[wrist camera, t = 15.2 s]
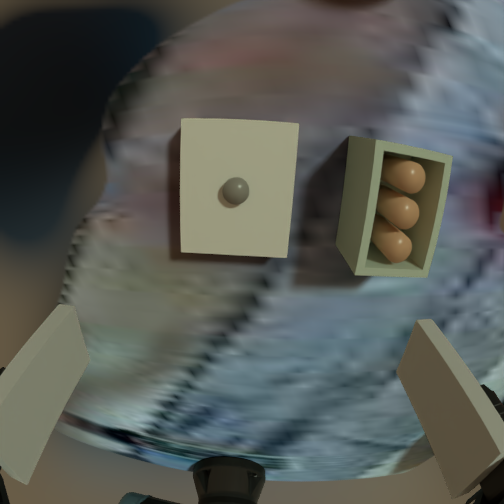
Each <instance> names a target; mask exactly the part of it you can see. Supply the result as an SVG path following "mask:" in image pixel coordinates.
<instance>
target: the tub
mask: <svg viewBox="0 0 504 504" xmlns="http://www.w3.org/2000/svg"><path fill="white" fill-rule="evenodd" d="M452 158H453V156H450V155H446V154H442V153H438V152H434V151H430V150H426V149H421V148H417V147H412V146H407V145H402V144H397V143H392V142H387V141H381V140H376V139H369V138H363V137H356V136H349V142H348V152H347V161H346V170H345V179H344V187H343V195H342V203H341V210H340V217H339V224H338V230H337V237H336V243H335V245H336V246H337V248H338V249H339V251H340V253H341V254H342V256H343V257H344V259H345V260H346V262H347V264H348V265H349V267H350V268H351V270H352V272H353V273H354V275H362V276H392V277H426V278H427V276H428V272H429V269H430V265H431V262H432V258H433V254H434V250H435V247H436V243H437V238H438V234H439V230H440V226H441V221H442V216H443V212H444V207H445V201H446V196H447V190H448V185H449V178H450V172H451V165H452Z"/></svg>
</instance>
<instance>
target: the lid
mask: <svg viewBox="0 0 504 504" xmlns="http://www.w3.org/2000/svg"><path fill="white" fill-rule="evenodd" d="M298 131H299V124H297V123H287V122H274V121H260V120H242V119H205V118H185V119H181V149H180V233H181V252H186V253H204V254H223V255H241V256H260V257H279V258H287V250H288V241H289V232H290V222H291V212H292V201H293V191H294V180H295V168H296V156H297V144H298Z"/></svg>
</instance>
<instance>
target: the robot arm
mask: <svg viewBox="0 0 504 504" xmlns="http://www.w3.org/2000/svg"><path fill="white" fill-rule="evenodd" d="M89 362H90V357H89V354H88V351H87V348H86V345H85V342H84V338H83V335H82V332H81V328H80V324H79V321H78V317H77V313H76V310H75V306H69V305H61V304H59V305H58V306H57V307H56V309H55V310H54V311H53V312H52V313H51V314H50V315H49V316H48V318H47V319H46V320H45V321H44V322H43V324H42V325H41V326H40V327H39V328H38V329H37V331H36V332H35V333H34V334H33V335H32V336H31V338H30V339H29V340H28V341H27V343H26V344H25V345H24V346H23V347H22V349H21V350H20V351H19V352H18V354H17V355H16V356H15V357H14V359H13V360H12V361H11V363H10V364H9V365H8V366H7V368H4V367H2V368H1V369H0V470H1V468H3V470H4V471H5V472H6V473H7V474H8V475H9V476H10V477H12V478H14V479H16V480H18V481H20V482H22V483H24V484H26V485H28V482H29V480H30V478H31V475H32V473H33V471H34V469H35V466H36V464H37V462H38V460H39V458H40V456H41V453H42V451H43V449H44V447H45V445H46V443H47V441H48V439H49V436H50V435H51V433H52V431H53V429H54V427H55V425H56V423H57V421H58V419H59V417H60V415H61V413H62V411H63V409H64V407H65V405H66V403H67V402H68V400H69V398H70V396H71V394H72V392H73V390H74V389H75V387H76V385H77V383H78V381H79V380H80V378H81V376H82V374H83V372H84V371H85V369H86V367H87V365H88V364H89ZM396 373H397V375H398V377H399V379H400V381H401V383H402V385H403V387H404V389H405V391H406V393H407V395H408V397H409V399H410V401H411V403H412V406H413V408H414V410H415V412H416V414H417V416H418V419H419V421H420V423H421V425H422V427H423V430H424V432H425V434H426V436H427V439H428V441H429V443H430V446H431V448H432V450H433V453H434V455H435V457H436V460H437V462H438V464H439V467H440V469H441V472H442V474H443V477H444V479H445V482H446V484H447V487H448V489H449V492H450V495H451V498H452V499H454V498H457V497H459V496H462V495H464V494H466V493H469V492H470V491H471V490H472V489H474V488H475V487H476V486H477V485H478V484H479V483H480V486H481V489H480V490H479V491H478V492H476V493H475V494H474V495H473V496H472V497H471V498H469V499H468V500H467V502H466V504H470V503H471V502H472V501H473V500H475V502H474V503H473V504H504V407H503V405H501V404H500V403H501V402H500V401H499V399H498V398H497V396H496V395H495V393H494V392H493V391H491V390H490V389H489V388H488V387H487V386H485V385H484V384H483V385H480V384H479V383H478V382H477V380H476V379H475V377H474V376H473V374H472V373H471V371H470V370H469V369H468V367H467V366H466V364H465V363H464V362H463V360H462V359H461V357H460V356H459V355H458V353H457V352H456V351H455V349H454V348H453V346H452V345H451V344H450V342H449V341H448V340H447V338H446V337H445V336H444V335H443V333H442V332H441V331H440V329H439V328H438V327H437V325H436V324H435V323H434V322H433V320H432V319H424V320H416V322H415V325H414V328H413V331H412V333H411V336H410V339H409V341H408V344H407V347H406V349H405V352H404V354H403V357H402V359H401V362H400V364H399V367H398V369H397V371H396ZM193 479H194V483H195V486H196V490H197V494H198V498H199V502H198V504H257V502H258V499H259V497H260V494H261V491H262V488H263V486H264V483H265V469H264V468H263V467H262V466H261V465H259V464H257V463H255V462H253V461H250V460H246V459H241V458H234V457H214V458H208V459H204V460H201V461H199V462H198V463H196V464H195V466H194V471H193ZM0 504H10V503H9V499H8V496H7V492H6V489H5V485H4V481H3V478H2V476H1V474H0ZM119 504H180V503H175V502H171V501H167V500H163V499H159V498H155V497H152V496H150V495H142V494H139V493H134V492H129V493H127V494H126V495H124V496H123V497H122V499H121V500H120V502H119Z"/></svg>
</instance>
